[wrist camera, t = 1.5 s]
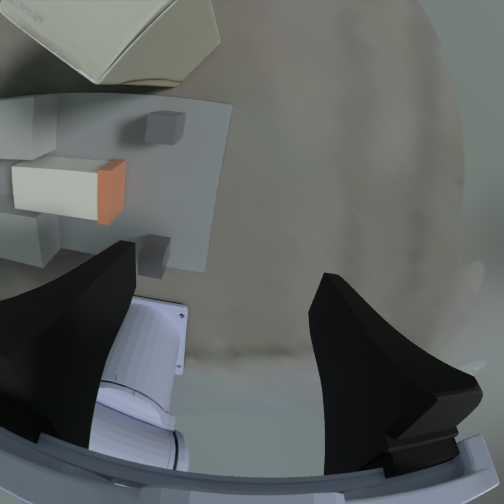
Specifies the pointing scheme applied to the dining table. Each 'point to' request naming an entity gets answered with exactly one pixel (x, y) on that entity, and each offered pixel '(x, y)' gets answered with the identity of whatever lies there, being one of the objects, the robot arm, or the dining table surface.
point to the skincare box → (121, 36)
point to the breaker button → (70, 187)
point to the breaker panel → (136, 177)
